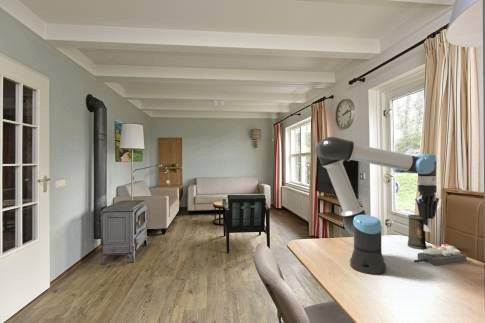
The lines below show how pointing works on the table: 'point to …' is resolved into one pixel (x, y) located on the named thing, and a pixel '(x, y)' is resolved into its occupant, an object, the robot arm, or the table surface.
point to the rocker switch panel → (440, 259)
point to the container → (416, 232)
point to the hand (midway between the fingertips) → (427, 231)
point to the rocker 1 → (432, 251)
